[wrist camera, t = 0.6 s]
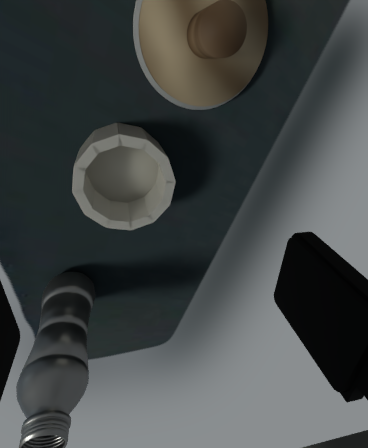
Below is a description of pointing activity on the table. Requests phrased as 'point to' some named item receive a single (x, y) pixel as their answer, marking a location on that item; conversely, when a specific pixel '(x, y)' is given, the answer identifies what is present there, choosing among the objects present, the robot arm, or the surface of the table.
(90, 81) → the table surface
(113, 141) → the bowl
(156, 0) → the lid
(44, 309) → the plastic bottle
